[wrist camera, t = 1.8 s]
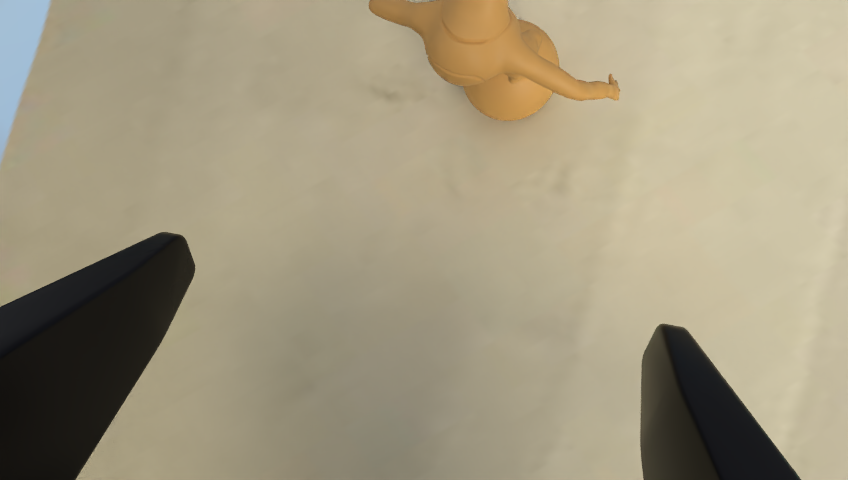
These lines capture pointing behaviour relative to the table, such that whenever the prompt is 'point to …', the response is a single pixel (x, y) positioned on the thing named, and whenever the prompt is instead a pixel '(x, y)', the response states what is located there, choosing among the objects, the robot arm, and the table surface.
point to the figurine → (491, 55)
